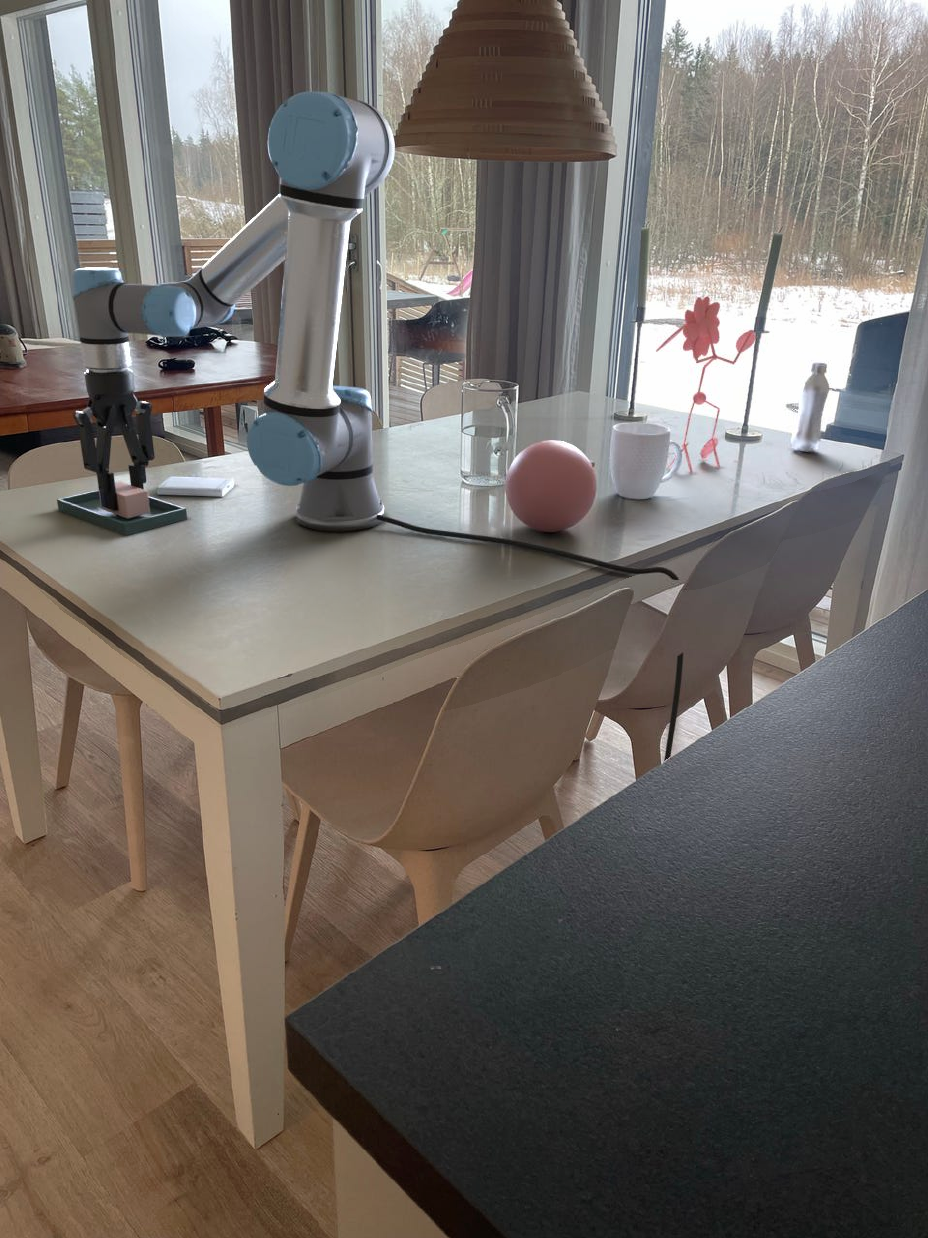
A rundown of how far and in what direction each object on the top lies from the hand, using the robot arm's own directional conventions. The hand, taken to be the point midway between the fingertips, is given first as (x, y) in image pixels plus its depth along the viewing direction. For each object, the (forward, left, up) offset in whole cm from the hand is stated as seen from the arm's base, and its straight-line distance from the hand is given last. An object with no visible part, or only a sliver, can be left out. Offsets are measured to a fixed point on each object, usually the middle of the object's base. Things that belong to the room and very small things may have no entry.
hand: (125, 505), depth 162 cm
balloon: (-59, -46, -2) cm, 75 cm away
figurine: (-55, -102, -2) cm, 116 cm away
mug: (-60, -74, -2) cm, 96 cm away
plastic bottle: (-71, -133, -2) cm, 151 cm away
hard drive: (+5, -18, -2) cm, 19 cm away
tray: (+2, 0, -2) cm, 3 cm away
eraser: (0, 0, -1) cm, 1 cm away
